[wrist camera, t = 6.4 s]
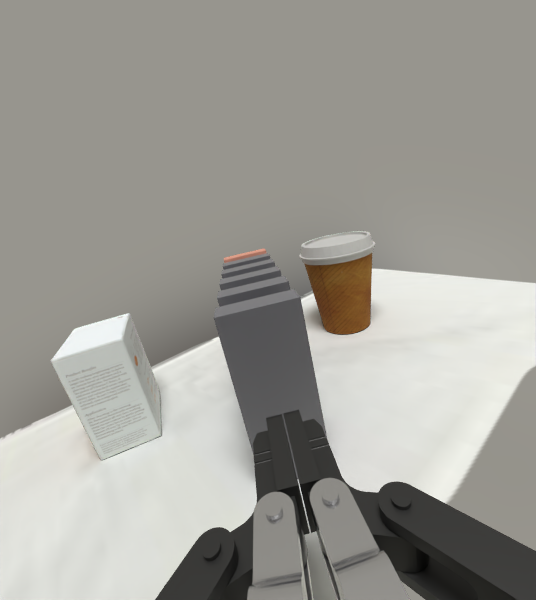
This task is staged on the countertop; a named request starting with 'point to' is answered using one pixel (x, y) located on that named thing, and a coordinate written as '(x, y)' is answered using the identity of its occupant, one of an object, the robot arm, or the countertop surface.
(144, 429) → the small box
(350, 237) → the disposable coffee cup
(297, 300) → the domino
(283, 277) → the domino
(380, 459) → the countertop surface
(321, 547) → the robot arm
